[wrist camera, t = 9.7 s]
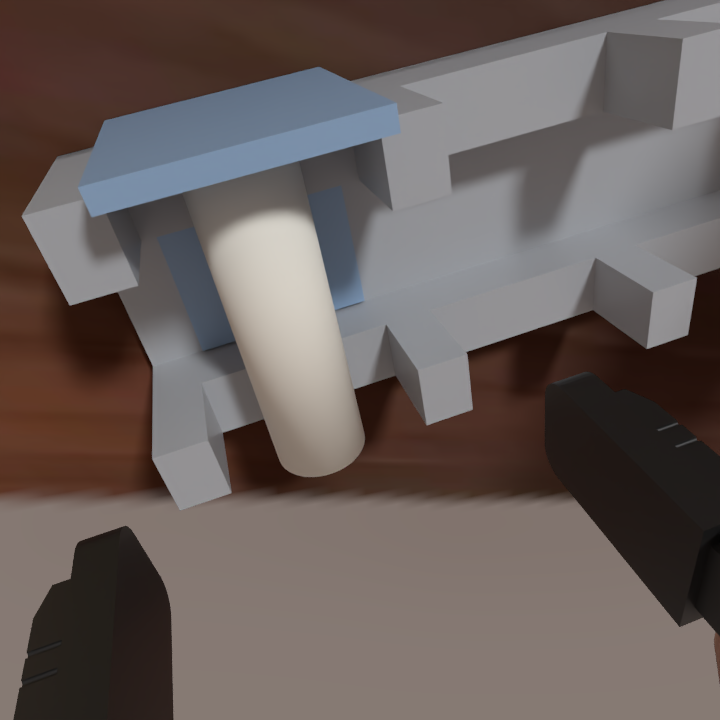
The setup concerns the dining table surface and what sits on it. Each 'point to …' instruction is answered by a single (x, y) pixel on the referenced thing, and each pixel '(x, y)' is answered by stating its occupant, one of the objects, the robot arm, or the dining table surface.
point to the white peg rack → (412, 212)
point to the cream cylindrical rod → (281, 314)
